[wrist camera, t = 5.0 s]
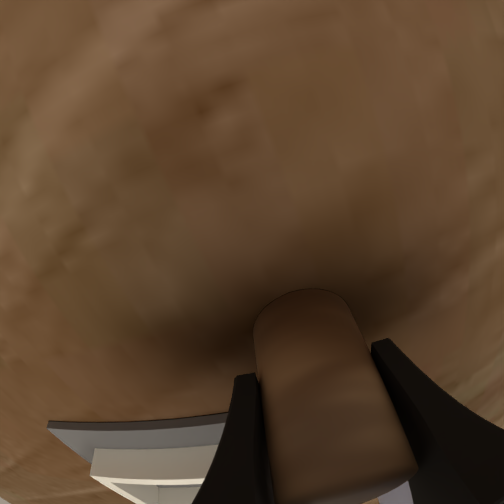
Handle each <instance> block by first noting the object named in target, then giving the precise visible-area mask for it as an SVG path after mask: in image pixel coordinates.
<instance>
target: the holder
mask: <svg viewBox="0 0 504 504" xmlns="http://www.w3.org/2000/svg"><path fill="white" fill-rule="evenodd" d="M227 415H228V413H223V414H216V415H209V416H201V417H192V418H182V419H172V420H159V421H143V422H118V423H78V422H54V421H49V422H48V425H47V429H48V430H49V431H50V432H51V433H53V434H54V435H55V436H56V437H57V438H59V439H60V440H61V441H62V442H63V443H65V444H66V445H67V446H68V447H70V448H71V449H72V450H73V451H75V452H76V453H77V454H79V455H80V456H81V457H82V458H84V459H85V460H86V461H88V462H89V463H91V464H92V466H91V471H90V476H91V477H93V478H94V479H96V480H97V481H99V482H100V483H102V484H104V485H105V486H107V487H108V488H110V489H112V490H113V491H115V492H117V493H118V494H120V495H122V496H124V497H125V498H127V499H129V500H131V501H133V502H135V503H136V504H192V502H193V500H194V498H195V496H196V495H197V493H198V491H199V489H200V487H201V485H202V483H203V481H204V479H205V477H206V475H207V473H208V470H209V468H210V466H211V463H212V461H213V458H214V456H215V453H216V450H217V447H218V445H219V442H220V439H221V436H222V433H223V429H224V426H225V422H226V419H227Z"/></svg>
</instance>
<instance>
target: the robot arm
mask: <svg viewBox="0 0 504 504" xmlns="http://www.w3.org/2000/svg"><path fill="white" fill-rule="evenodd" d="M371 356H372V358H373V360H374V362H375V364H376V367H377V369H378V371H379V373H380V376H381V378H382V380H383V382H384V385H385V387H386V389H387V391H388V394H389V396H390V398H391V401H392V403H393V405H394V408H395V410H396V412H397V415H398V417H399V420H400V422H401V424H402V427H403V429H404V432H405V434H406V437H407V439H408V442H409V444H410V447H411V449H412V452H413V454H414V457H415V460H416V462H417V465H418V471H417V472H416V474H415V475H414V476H413V477H412V478H410V479H409V480H408V481H406V482H405V483H403V484H402V485H400V486H399V487H397V488H395V489H393V490H392V491H390V492H388V493H386V494H383V495H381V496H379V497H378V501H379V504H504V429H502V428H500V427H498V426H496V425H494V424H492V423H491V422H489V421H487V420H485V419H483V418H482V417H480V416H479V415H477V414H475V413H474V412H472V411H471V410H469V409H468V408H466V407H465V406H463V405H462V404H461V403H459V402H458V401H457V400H455V399H454V398H453V397H451V396H450V395H449V394H448V393H446V392H445V391H444V390H443V389H441V388H440V387H439V386H438V385H437V384H436V383H434V382H433V381H432V380H431V379H430V378H429V377H428V376H427V375H426V374H424V373H423V372H422V371H421V370H420V369H419V368H418V367H417V366H416V365H415V364H414V363H413V362H412V361H411V360H410V359H409V358H408V357H407V356H406V355H405V354H404V353H403V352H402V351H401V350H400V349H399V348H398V347H397V346H396V345H395V344H394V343H393V342H392V341H391V340H390V339H389V338H386V339H383V340H380V341H376V342H373V343H372V345H371ZM192 504H274V496H273V489H272V481H271V474H270V466H269V459H268V451H267V443H266V436H265V428H264V420H263V412H262V403H261V395H260V388H259V383H258V380H257V377H256V374H255V372H254V373H249V374H244V375H239V376H236V378H235V380H234V387H233V393H232V398H231V403H230V407H229V412H228V415H227V419H226V422H225V426H224V429H223V433H222V436H221V439H220V442H219V445H218V447H217V450H216V453H215V456H214V458H213V461H212V463H211V466H210V468H209V470H208V473H207V475H206V477H205V479H204V481H203V483H202V485H201V487H200V489H199V491H198V493H197V495H196V496H195V498H194V500H193V502H192Z"/></svg>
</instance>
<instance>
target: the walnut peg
mask: <svg viewBox="0 0 504 504" xmlns="http://www.w3.org/2000/svg"><path fill="white" fill-rule="evenodd" d="M253 340H254V348H255V356H256V364H257V372H258V380H259V388H260V395H261V403H262V412H263V420H264V428H265V436H266V443H267V451H268V459H269V466H270V474H271V481H272V489H273V496H274V504H361V503H364V502H367V501H369V500H372V499H374V498H377V497H379V496H381V495H383V494H386V493H388V492H390V491H392V490H393V489H395V488H397V487H399V486H400V485H402V484H403V483H405V482H406V481H408V480H409V479H410V478H412V477H413V476H414V475H415V474H416V472H417V471H418V465H417V462H416V460H415V457H414V454H413V452H412V449H411V447H410V444H409V442H408V439H407V437H406V434H405V432H404V429H403V427H402V424H401V422H400V420H399V417H398V415H397V412H396V410H395V408H394V405H393V403H392V401H391V398H390V396H389V394H388V391H387V389H386V387H385V385H384V382H383V380H382V378H381V376H380V373H379V371H378V369H377V367H376V364H375V362H374V360H373V358H372V356H371V353H370V351H369V349H368V347H367V345H366V343H365V341H364V338H363V336H362V334H361V332H360V330H359V328H358V326H357V324H356V322H355V319H354V317H353V315H352V313H351V311H350V309H349V307H348V305H347V304H346V302H345V301H344V300H343V299H342V298H341V297H340V296H338V295H336V294H335V293H332V292H330V291H326V290H321V289H303V290H298V291H294V292H291V293H288V294H285V295H283V296H281V297H279V298H277V299H276V300H274V301H273V302H271V303H270V304H269V305H267V306H266V307H265V308H264V309H263V310H262V311H261V313H260V314H259V316H258V317H257V319H256V321H255V324H254V327H253Z"/></svg>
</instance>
